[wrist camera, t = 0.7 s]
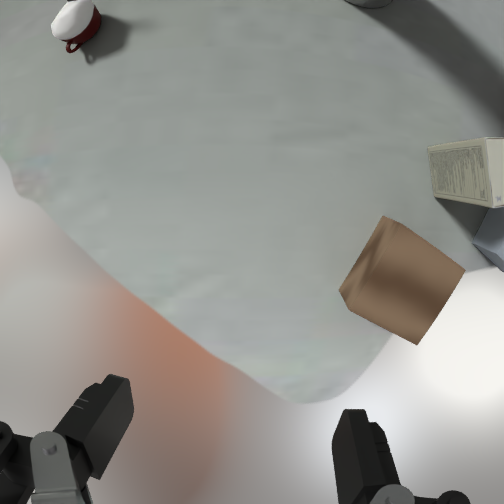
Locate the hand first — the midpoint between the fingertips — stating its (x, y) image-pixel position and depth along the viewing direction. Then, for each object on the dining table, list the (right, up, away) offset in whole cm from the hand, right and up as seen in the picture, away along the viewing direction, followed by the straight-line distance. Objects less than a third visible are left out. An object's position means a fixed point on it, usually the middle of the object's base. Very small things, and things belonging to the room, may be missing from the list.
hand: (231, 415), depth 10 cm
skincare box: (+23, +16, +21) cm, 35 cm away
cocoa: (-21, +36, +19) cm, 46 cm away
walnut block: (+18, +4, +25) cm, 31 cm away
